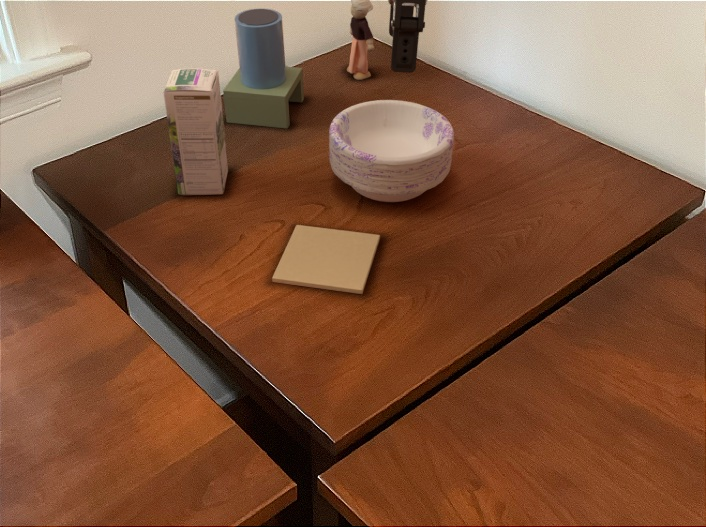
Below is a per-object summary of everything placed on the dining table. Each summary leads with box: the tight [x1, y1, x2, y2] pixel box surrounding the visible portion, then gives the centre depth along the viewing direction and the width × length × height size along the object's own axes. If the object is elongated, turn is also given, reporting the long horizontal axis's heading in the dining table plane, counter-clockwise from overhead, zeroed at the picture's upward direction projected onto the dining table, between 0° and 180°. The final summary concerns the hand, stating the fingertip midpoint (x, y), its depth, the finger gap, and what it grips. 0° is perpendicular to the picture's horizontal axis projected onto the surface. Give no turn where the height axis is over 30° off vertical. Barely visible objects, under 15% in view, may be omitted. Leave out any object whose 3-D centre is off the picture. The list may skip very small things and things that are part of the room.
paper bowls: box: [328, 99, 455, 203], centre depth 102 cm, size 15×15×8 cm
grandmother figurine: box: [346, 0, 375, 81], centre depth 124 cm, size 8×4×13 cm, turn 34°
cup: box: [234, 8, 287, 89], centre depth 113 cm, size 6×6×9 cm
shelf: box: [222, 66, 305, 130], centre depth 117 cm, size 9×9×5 cm
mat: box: [271, 224, 381, 295], centre depth 92 cm, size 10×10×1 cm
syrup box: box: [163, 67, 229, 196], centre depth 100 cm, size 6×6×14 cm
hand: (401, 52), depth 77 cm, fingers open, 8 cm apart
